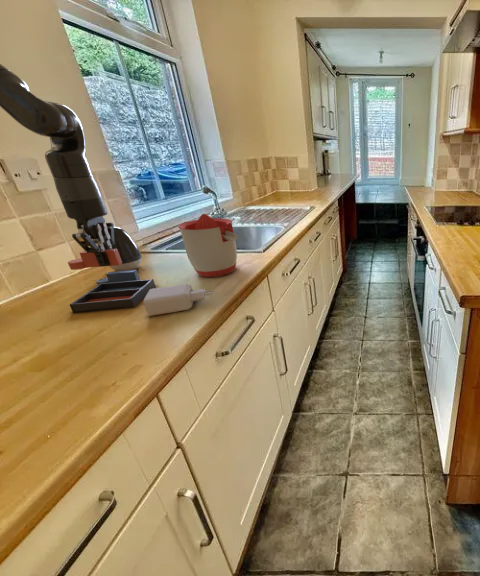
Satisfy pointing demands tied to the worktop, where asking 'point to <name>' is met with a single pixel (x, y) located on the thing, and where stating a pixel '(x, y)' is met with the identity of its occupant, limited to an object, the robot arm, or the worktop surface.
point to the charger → (172, 299)
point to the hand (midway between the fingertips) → (107, 264)
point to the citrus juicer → (210, 245)
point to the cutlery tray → (113, 296)
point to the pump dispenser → (126, 251)
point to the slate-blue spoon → (119, 277)
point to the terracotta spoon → (94, 260)
